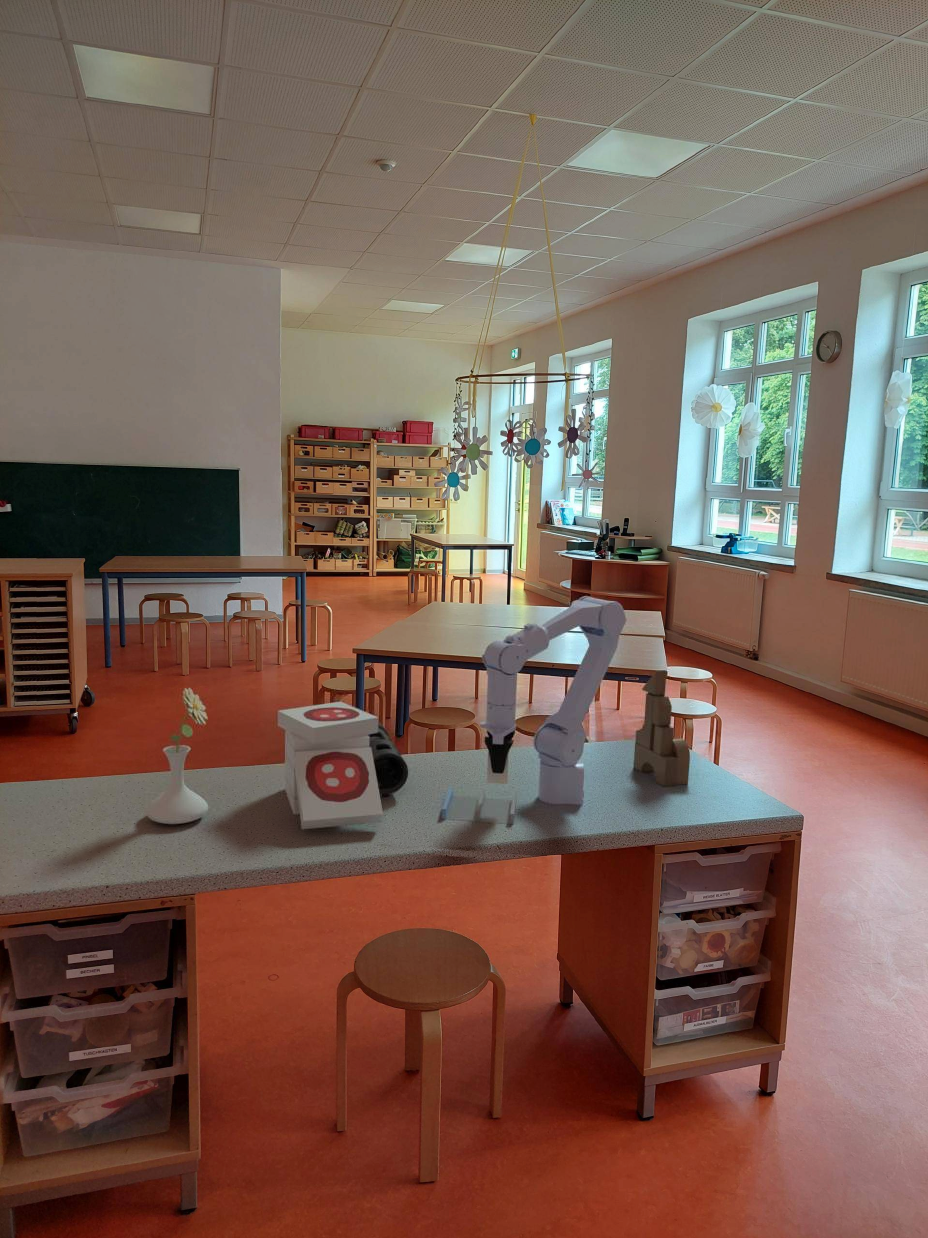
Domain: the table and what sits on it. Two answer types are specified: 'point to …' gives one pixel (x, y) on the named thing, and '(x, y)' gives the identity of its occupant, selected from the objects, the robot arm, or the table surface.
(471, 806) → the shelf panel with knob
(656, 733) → the wooden toy
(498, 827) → the table surface
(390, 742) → the muzzle brake
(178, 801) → the flower in vase
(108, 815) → the table surface
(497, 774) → the plug
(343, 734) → the pizza boxes
